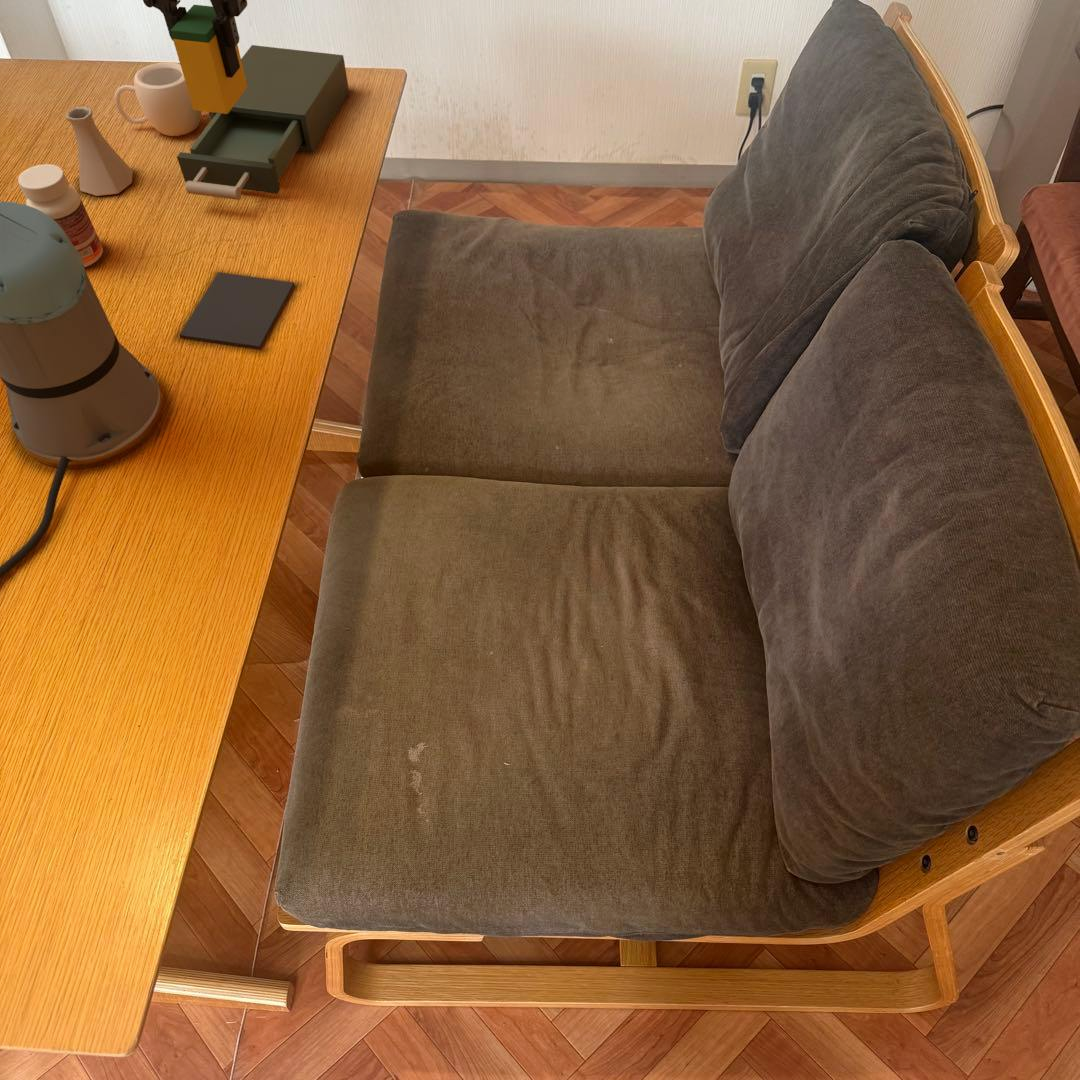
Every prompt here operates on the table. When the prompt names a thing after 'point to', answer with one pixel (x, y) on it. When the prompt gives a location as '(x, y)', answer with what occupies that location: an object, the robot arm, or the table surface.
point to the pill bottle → (61, 207)
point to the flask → (97, 157)
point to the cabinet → (293, 88)
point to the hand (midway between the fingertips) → (213, 69)
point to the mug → (162, 99)
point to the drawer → (240, 154)
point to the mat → (237, 310)
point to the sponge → (205, 63)
